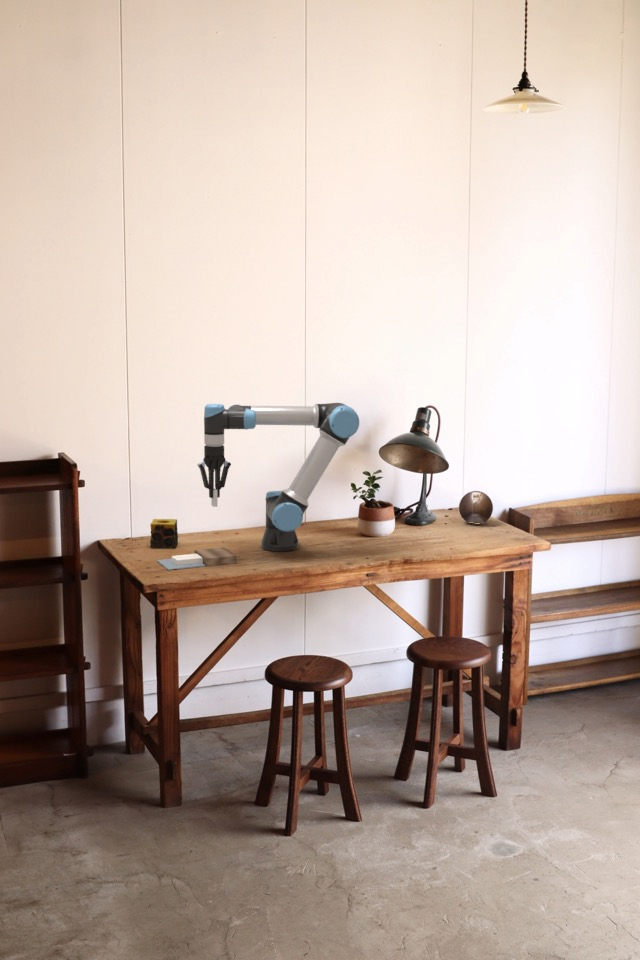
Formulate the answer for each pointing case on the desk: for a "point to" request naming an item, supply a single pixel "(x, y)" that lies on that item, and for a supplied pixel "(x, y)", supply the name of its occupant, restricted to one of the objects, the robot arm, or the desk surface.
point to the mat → (170, 565)
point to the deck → (217, 556)
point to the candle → (164, 533)
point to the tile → (187, 559)
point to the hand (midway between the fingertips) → (214, 505)
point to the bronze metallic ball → (476, 507)
